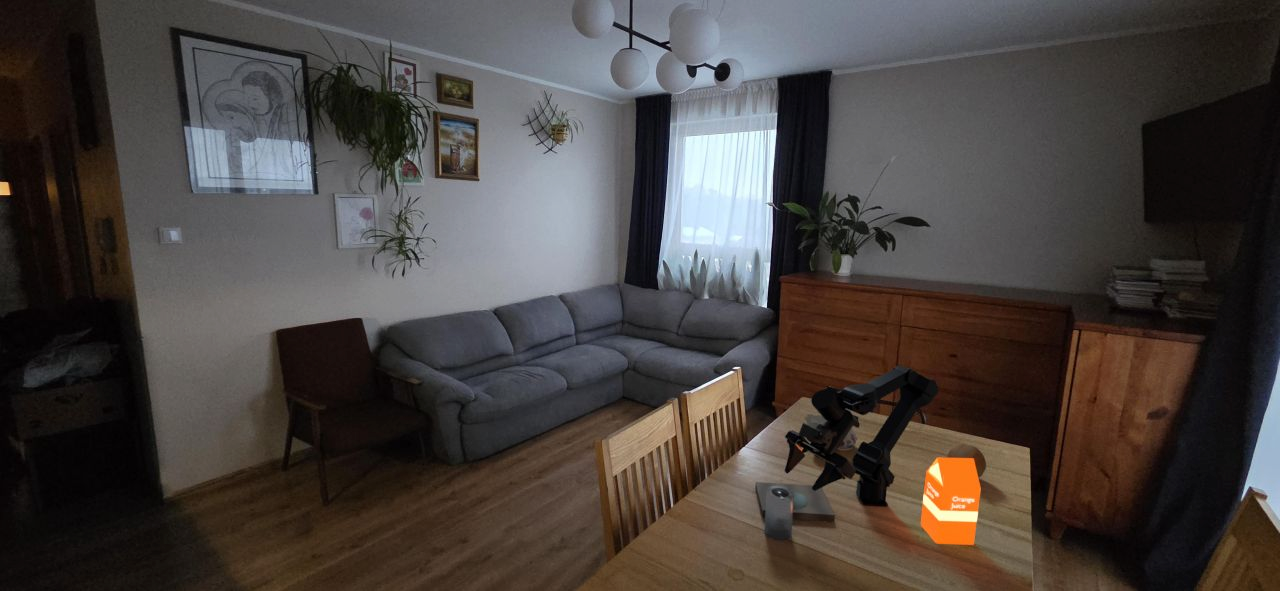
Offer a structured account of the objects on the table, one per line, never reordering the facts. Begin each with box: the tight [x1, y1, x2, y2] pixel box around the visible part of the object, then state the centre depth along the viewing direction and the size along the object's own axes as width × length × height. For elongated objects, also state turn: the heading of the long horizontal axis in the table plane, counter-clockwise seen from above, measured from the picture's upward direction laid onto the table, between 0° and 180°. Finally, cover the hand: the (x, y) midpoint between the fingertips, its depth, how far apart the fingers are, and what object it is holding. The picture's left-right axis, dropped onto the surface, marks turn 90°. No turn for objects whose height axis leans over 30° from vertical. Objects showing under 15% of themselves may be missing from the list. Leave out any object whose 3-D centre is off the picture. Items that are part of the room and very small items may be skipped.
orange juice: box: [920, 456, 982, 546], centre depth 124 cm, size 8×9×20 cm
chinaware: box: [804, 409, 858, 455], centre depth 173 cm, size 28×17×17 cm, turn 173°
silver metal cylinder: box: [764, 486, 794, 542], centre depth 125 cm, size 6×6×11 cm
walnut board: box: [754, 481, 836, 523], centre depth 138 cm, size 18×14×2 cm
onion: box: [946, 443, 987, 479], centre depth 152 cm, size 10×10×10 cm
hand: (799, 480), depth 126 cm, fingers open, 9 cm apart
